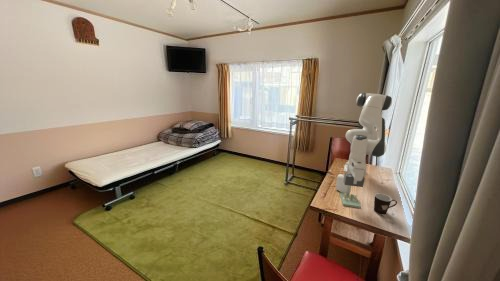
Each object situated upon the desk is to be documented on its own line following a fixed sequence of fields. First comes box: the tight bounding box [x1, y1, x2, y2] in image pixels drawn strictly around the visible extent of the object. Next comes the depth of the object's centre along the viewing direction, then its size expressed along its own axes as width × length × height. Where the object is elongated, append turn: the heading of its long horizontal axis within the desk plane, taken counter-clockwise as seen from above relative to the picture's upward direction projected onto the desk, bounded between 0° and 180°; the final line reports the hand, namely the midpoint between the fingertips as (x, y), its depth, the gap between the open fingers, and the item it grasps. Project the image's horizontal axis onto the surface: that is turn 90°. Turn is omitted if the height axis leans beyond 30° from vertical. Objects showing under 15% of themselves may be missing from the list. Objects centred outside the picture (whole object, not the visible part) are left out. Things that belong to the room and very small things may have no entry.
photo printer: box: [335, 174, 352, 194], centre depth 140 cm, size 10×4×12 cm, turn 29°
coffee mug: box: [373, 192, 398, 216], centre depth 117 cm, size 12×9×10 cm
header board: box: [339, 192, 362, 209], centre depth 130 cm, size 14×10×5 cm
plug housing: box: [343, 172, 365, 188], centre depth 126 cm, size 5×11×6 cm, turn 75°
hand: (353, 181), depth 126 cm, fingers closed on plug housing, 5 cm apart
